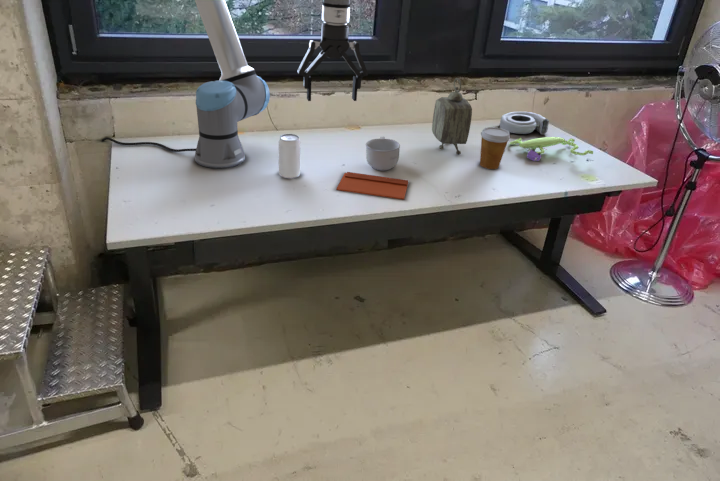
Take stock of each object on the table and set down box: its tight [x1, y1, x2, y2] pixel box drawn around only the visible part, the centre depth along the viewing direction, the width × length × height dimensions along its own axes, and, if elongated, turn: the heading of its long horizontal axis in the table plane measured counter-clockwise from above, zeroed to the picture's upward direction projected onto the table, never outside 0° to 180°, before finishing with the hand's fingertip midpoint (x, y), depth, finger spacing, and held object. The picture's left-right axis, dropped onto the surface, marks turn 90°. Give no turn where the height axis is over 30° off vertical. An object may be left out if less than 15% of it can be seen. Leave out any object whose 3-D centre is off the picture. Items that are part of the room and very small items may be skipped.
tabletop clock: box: [431, 77, 473, 156], centre depth 185 cm, size 14×9×25 cm, turn 9°
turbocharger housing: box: [499, 111, 550, 135], centre depth 215 cm, size 17×6×15 cm
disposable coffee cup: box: [479, 126, 511, 170], centre depth 178 cm, size 10×10×12 cm
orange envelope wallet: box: [336, 171, 409, 201], centre depth 161 cm, size 20×12×1 cm, turn 79°
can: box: [278, 133, 302, 179], centre depth 161 cm, size 6×6×12 cm
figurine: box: [508, 136, 594, 162], centre depth 193 cm, size 18×27×6 cm
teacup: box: [365, 136, 401, 171], centre depth 174 cm, size 14×11×8 cm
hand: (331, 99), depth 158 cm, fingers open, 13 cm apart
